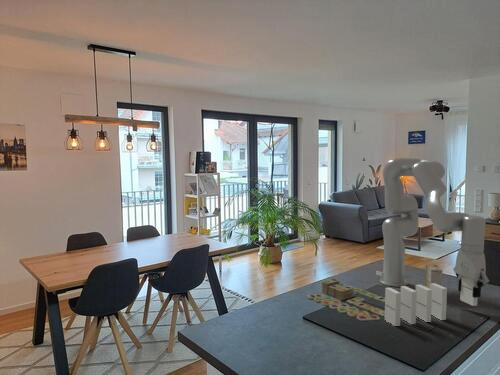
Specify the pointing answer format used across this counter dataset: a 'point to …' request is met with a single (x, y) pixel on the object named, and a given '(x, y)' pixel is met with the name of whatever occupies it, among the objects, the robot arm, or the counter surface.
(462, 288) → the domino
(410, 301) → the domino
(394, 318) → the domino
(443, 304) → the domino
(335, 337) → the counter surface
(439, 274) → the supplement box
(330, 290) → the pile of dominoes
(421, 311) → the domino
